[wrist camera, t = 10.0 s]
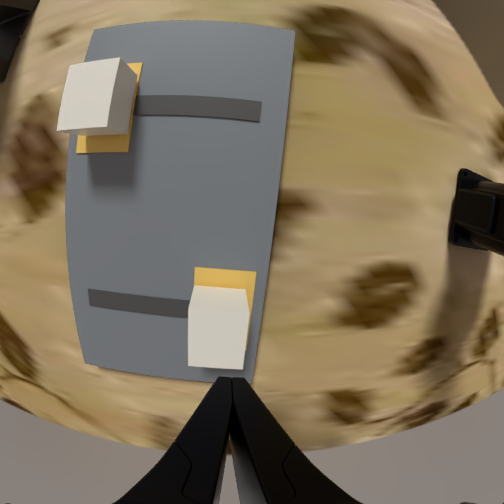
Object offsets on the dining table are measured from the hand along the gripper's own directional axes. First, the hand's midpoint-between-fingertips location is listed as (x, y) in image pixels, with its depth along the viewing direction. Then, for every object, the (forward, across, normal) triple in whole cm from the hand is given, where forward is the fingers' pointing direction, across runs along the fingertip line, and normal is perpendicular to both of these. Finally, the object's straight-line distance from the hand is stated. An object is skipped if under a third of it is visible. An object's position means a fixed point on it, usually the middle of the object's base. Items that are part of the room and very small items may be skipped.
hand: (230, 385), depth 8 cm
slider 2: (+8, +1, +2) cm, 9 cm away
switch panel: (+10, +4, -4) cm, 12 cm away
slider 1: (+8, +8, -10) cm, 15 cm away
